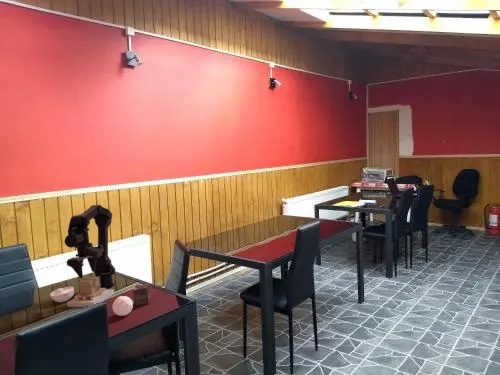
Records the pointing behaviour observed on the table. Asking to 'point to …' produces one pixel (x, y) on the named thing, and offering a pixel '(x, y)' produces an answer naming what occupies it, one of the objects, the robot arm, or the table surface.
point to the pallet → (93, 296)
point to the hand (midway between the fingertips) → (87, 274)
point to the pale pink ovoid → (123, 305)
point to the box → (142, 294)
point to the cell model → (62, 294)
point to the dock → (90, 302)
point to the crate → (89, 285)
